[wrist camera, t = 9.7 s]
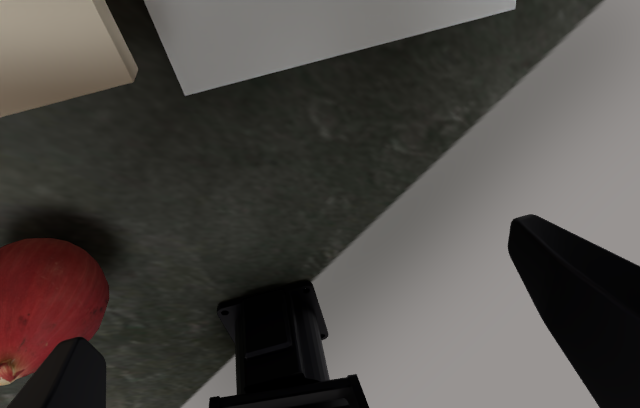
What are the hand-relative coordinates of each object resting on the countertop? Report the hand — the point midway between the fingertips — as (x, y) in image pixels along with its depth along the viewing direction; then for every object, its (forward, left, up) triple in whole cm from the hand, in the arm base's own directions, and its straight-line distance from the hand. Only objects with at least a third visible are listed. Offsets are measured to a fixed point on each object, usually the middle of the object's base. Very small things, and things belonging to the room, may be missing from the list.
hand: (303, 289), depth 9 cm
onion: (-7, +13, -13) cm, 20 cm away
